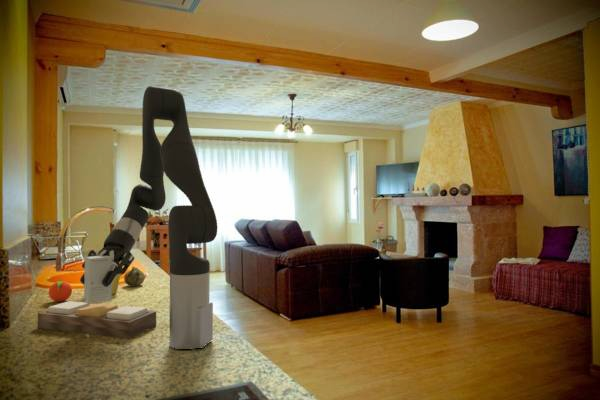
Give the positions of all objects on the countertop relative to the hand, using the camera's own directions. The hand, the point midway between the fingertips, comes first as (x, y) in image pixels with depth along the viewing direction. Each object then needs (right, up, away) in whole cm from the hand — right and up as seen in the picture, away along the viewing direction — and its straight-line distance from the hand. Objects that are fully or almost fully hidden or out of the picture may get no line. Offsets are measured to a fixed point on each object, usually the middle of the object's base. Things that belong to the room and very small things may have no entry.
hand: (93, 284), depth 113 cm
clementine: (-26, -12, +29) cm, 41 cm away
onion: (-12, -12, +58) cm, 60 cm away
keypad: (0, -12, +1) cm, 12 cm away
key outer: (-9, -8, +4) cm, 13 cm away
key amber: (0, -8, +1) cm, 9 cm away
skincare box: (0, -5, +2) cm, 5 cm away
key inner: (+10, -8, -1) cm, 13 cm away
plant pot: (-16, -12, +42) cm, 47 cm away
